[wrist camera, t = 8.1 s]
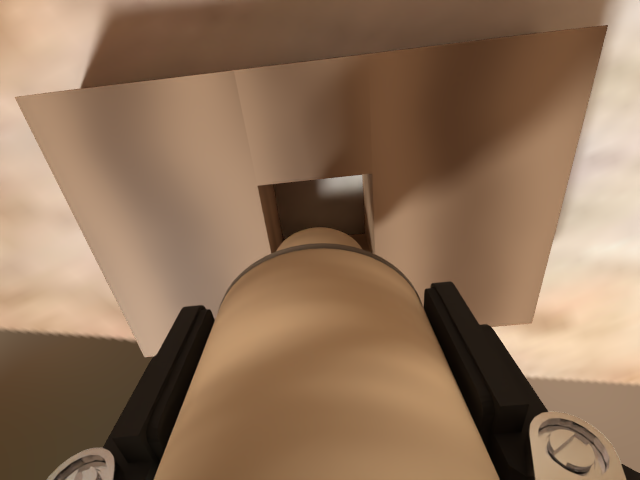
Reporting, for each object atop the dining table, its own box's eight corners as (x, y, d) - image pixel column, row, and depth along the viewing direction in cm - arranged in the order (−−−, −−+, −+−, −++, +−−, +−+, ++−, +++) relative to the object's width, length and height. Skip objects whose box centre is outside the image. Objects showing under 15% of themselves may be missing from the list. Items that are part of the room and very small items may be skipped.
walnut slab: (541, 32, 15) (607, 25, 12) (497, 281, 22) (531, 323, 19) (79, 88, 16) (14, 96, 13) (170, 311, 23) (144, 356, 19)
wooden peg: (398, 187, 12) (607, 497, 3) (397, 323, 15) (510, 671, 6) (223, 205, 12) (11, 540, 4) (257, 335, 15) (182, 689, 6)
